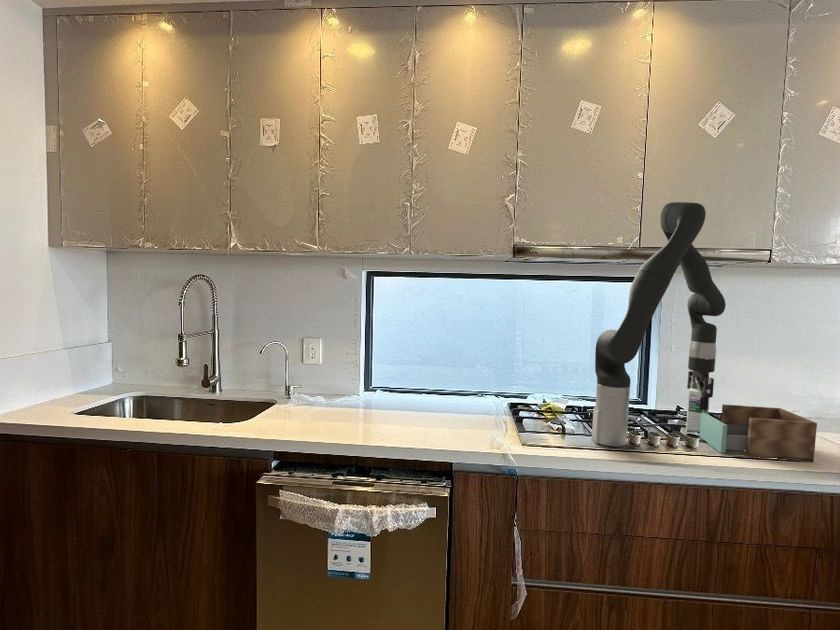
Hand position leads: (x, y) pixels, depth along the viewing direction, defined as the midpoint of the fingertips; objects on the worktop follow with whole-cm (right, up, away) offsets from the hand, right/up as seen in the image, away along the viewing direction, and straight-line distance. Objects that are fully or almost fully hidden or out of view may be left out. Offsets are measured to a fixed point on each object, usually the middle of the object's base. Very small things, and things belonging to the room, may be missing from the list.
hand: (698, 406), depth 171 cm
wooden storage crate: (+12, -10, -14) cm, 21 cm away
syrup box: (0, -9, +1) cm, 9 cm away
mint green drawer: (+4, -10, -13) cm, 17 cm away
